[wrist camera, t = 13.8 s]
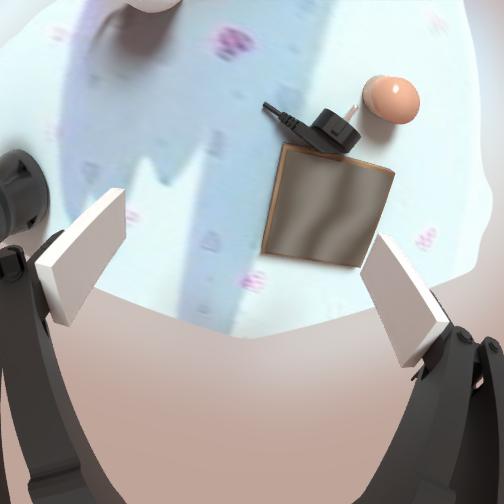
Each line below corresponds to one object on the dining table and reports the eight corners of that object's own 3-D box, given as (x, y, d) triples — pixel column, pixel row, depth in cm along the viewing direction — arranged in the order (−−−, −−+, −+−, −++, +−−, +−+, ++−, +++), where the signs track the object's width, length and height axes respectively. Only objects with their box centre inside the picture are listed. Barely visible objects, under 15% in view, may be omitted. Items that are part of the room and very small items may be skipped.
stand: (261, 245, 44) (261, 254, 42) (282, 142, 35) (284, 145, 33) (357, 260, 45) (361, 269, 43) (389, 169, 36) (396, 173, 34)
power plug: (255, 105, 30) (339, 167, 30) (293, 58, 27) (377, 119, 27) (264, 112, 35) (335, 165, 35) (297, 71, 32) (369, 124, 32)
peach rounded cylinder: (387, 124, 33) (404, 133, 29) (355, 100, 32) (369, 105, 27) (408, 93, 30) (427, 98, 26) (376, 66, 28) (393, 67, 24)
